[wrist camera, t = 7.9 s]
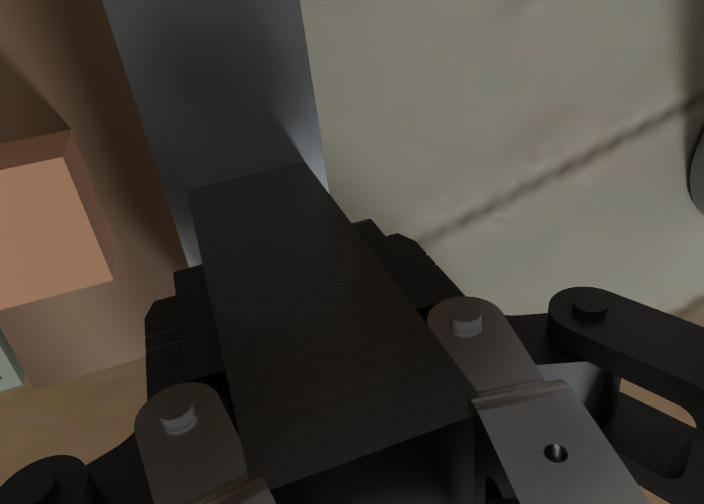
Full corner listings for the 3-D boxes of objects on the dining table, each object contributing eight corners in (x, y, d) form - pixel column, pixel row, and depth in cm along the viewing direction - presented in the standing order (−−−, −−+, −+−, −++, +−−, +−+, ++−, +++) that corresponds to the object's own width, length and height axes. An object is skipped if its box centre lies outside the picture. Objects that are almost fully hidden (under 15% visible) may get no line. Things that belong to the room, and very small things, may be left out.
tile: (71, 128, 17) (63, 156, 15) (115, 242, 19) (113, 280, 17) (-76, 158, 16) (-106, 193, 14) (-12, 273, 18) (-31, 318, 16)
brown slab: (263, -94, 18) (283, -98, 16) (323, 263, 26) (343, 298, 23) (-154, -39, 16) (-207, -32, 13) (45, 340, 23) (35, 389, 21)
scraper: (265, -46, 15) (550, 13, 5) (329, 318, 21) (508, 667, 11) (105, -20, 14) (41, 116, 4) (222, 351, 20) (313, 761, 10)
